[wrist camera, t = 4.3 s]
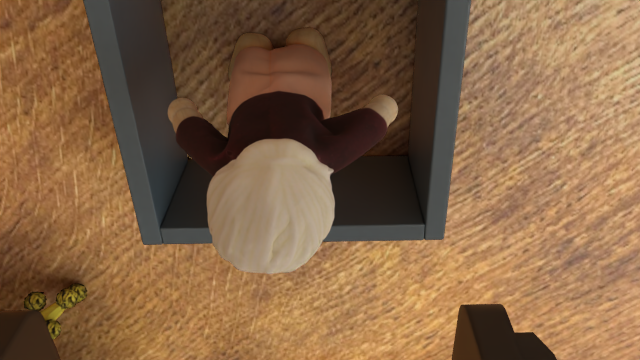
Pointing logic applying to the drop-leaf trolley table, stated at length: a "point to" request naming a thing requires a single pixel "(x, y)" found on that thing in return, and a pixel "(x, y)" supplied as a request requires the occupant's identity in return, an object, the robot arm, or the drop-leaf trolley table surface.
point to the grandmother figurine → (277, 151)
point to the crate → (347, 184)
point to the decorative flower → (55, 305)
